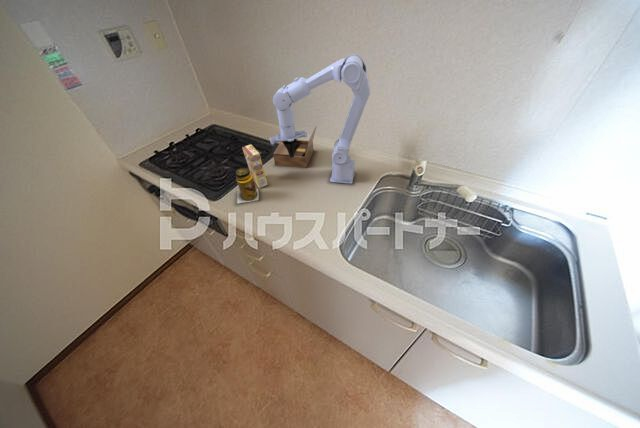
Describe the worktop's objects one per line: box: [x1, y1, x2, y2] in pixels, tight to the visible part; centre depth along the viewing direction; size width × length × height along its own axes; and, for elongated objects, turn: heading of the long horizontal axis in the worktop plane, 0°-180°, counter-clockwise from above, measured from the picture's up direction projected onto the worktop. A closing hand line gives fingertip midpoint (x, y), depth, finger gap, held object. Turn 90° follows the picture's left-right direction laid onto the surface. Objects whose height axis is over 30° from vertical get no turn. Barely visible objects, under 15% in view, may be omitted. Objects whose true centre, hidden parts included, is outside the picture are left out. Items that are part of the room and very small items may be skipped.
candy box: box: [242, 144, 268, 189], centre depth 97 cm, size 9×4×15 cm, turn 33°
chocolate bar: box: [294, 144, 307, 157], centre depth 112 cm, size 4×11×4 cm, turn 163°
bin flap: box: [305, 126, 317, 156], centre depth 106 cm, size 7×15×1 cm
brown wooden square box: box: [272, 138, 314, 169], centre depth 113 cm, size 15×15×6 cm
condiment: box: [234, 167, 260, 204], centre depth 91 cm, size 7×8×12 cm
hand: (291, 156), depth 98 cm, fingers closed
